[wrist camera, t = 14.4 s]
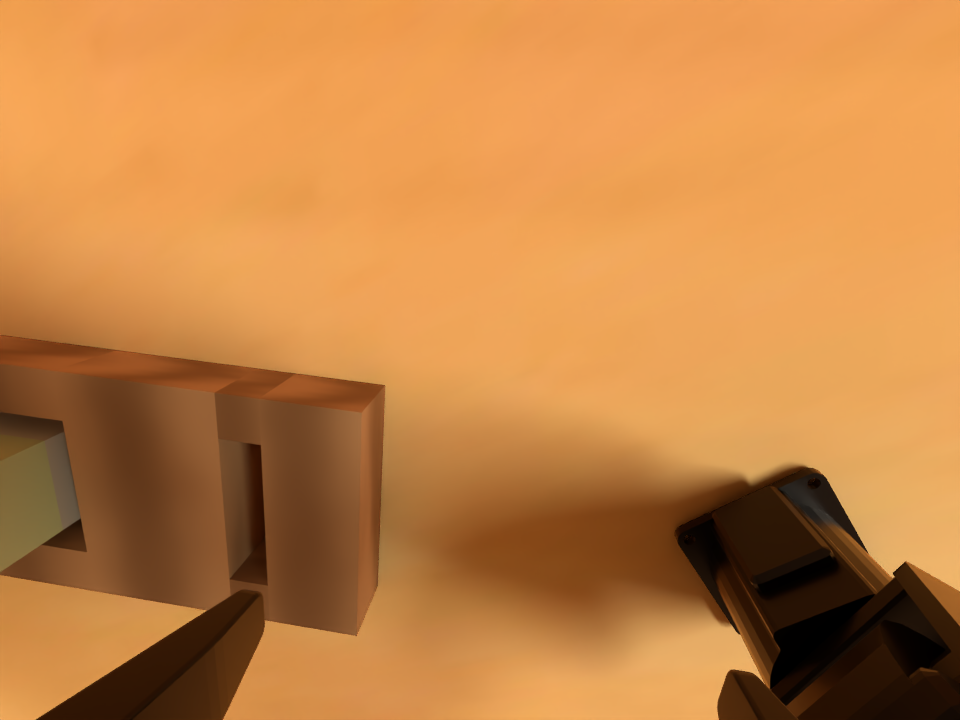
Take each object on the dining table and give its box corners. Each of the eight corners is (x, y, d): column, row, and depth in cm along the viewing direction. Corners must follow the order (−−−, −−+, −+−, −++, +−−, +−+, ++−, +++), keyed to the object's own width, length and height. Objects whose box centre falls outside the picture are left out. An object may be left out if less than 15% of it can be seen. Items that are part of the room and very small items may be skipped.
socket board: (385, 385, 21) (361, 412, 18) (377, 585, 24) (356, 635, 21) (-68, 326, 22) (-155, 342, 20) (-16, 522, 26) (-85, 560, 23)
